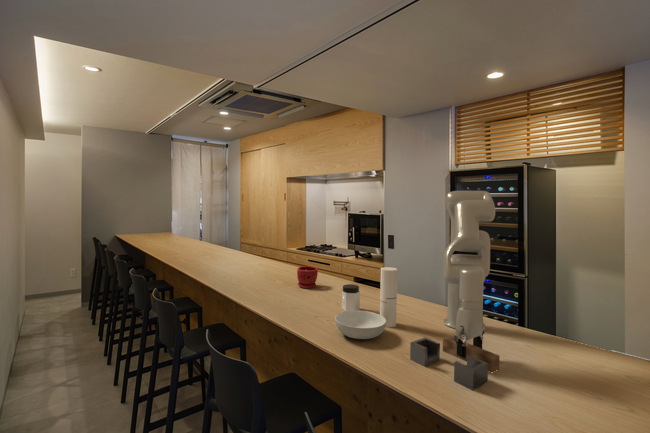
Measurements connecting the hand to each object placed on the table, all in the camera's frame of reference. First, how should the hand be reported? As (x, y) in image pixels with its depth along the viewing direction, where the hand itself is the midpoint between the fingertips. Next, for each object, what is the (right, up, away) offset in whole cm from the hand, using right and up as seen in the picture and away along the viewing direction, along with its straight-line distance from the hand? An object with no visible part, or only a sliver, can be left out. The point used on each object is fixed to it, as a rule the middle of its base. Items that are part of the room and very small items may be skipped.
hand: (469, 353), depth 117 cm
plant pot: (-61, +2, +99) cm, 116 cm away
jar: (-37, 0, +54) cm, 65 cm away
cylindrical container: (-22, -1, +34) cm, 40 cm away
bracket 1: (-15, -2, 0) cm, 15 cm away
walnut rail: (0, -3, +1) cm, 3 cm away
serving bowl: (-36, -2, +22) cm, 42 cm away
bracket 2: (-6, -3, -13) cm, 15 cm away
